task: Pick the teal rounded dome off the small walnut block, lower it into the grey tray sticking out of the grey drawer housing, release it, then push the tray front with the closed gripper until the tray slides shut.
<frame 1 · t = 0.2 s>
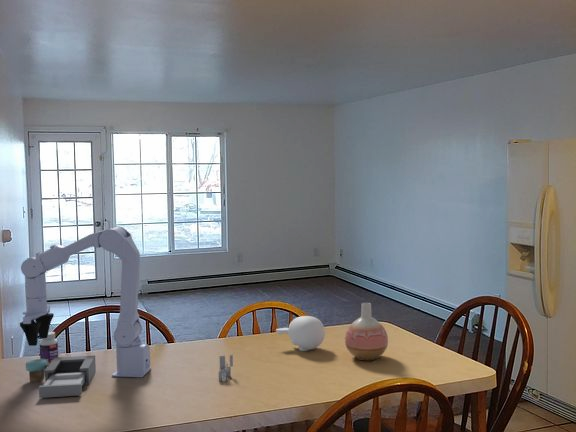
hand: (38, 341, 183), 10 cm above the table, fingers open, 7 cm apart
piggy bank: (303, 347, 208), on the table
pill bottle: (49, 363, 194), on the table
grey drawer housing: (71, 379, 179), on the table
architectural model: (242, 382, 177), on the table
vase: (366, 358, 196), on the table
stand: (37, 379, 179), on the table
tray: (64, 383, 170), point 2 cm above the table, slide at 8.0 cm
teal rounded dome: (36, 368, 179), point 3 cm above the table, touching stand
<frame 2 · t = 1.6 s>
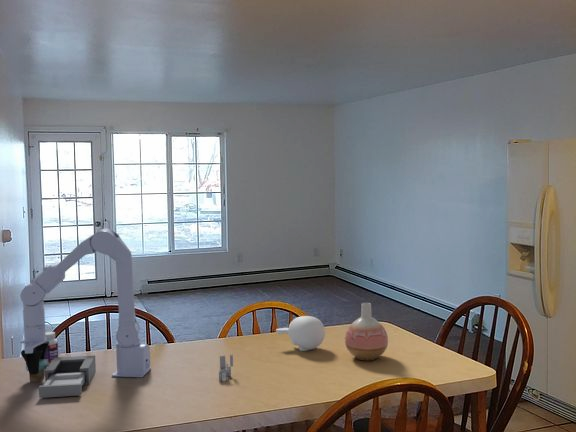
hand: (36, 370, 179), 3 cm above the table, fingers closed on teal rounded dome, 6 cm apart
teal rounded dome: (36, 368, 179), point 4 cm above the table, touching gripper, stand
everything else where it was.
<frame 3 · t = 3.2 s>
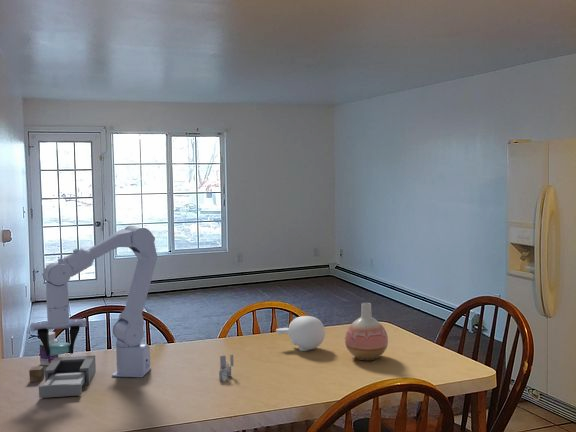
hand: (60, 353, 171), 10 cm above the table, fingers closed on teal rounded dome, 6 cm apart
teal rounded dome: (59, 351, 171), point 10 cm above the table, touching gripper
everything else where it was.
when the fingers open (3 cm above the table, at t = 5.2 s): teal rounded dome drops 2 cm, resting on tray.
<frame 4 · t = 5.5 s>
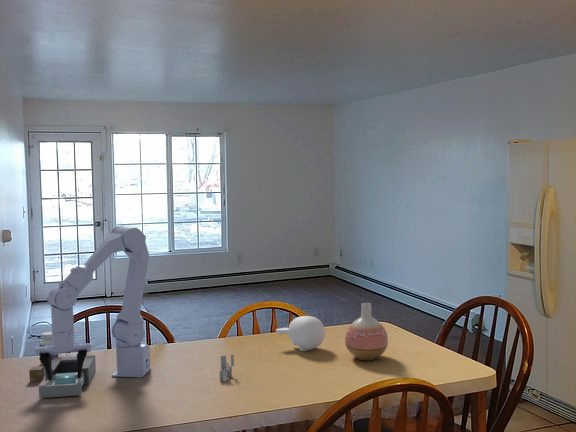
hand: (65, 378, 171), 3 cm above the table, fingers open, 7 cm apart
tray: (64, 383, 170), point 2 cm above the table, slide at 8.0 cm, touching teal rounded dome
teal rounded dome: (65, 382, 171), point 2 cm above the table, touching tray
everything else where it was.
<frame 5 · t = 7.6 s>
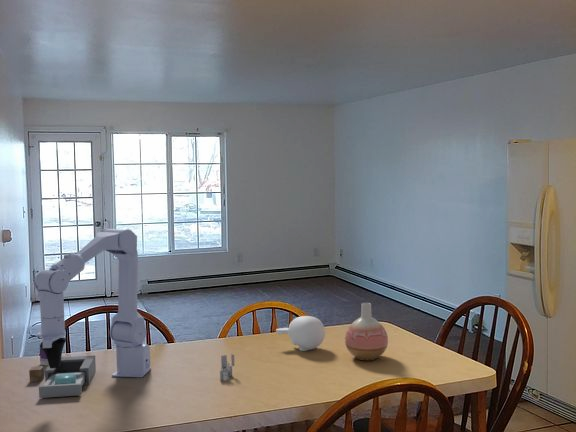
hand: (54, 367, 159), 10 cm above the table, fingers closed
nothing on the table moved.
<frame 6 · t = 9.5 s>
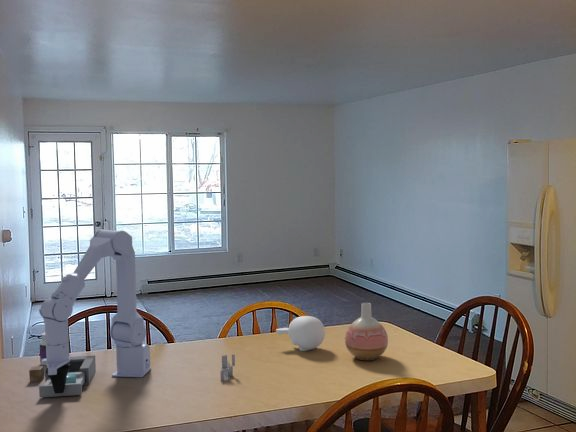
hand: (59, 392, 164), 2 cm above the table, fingers closed
tray: (65, 382, 171), point 2 cm above the table, slide at 7.6 cm, touching teal rounded dome, gripper
everything else where it was.
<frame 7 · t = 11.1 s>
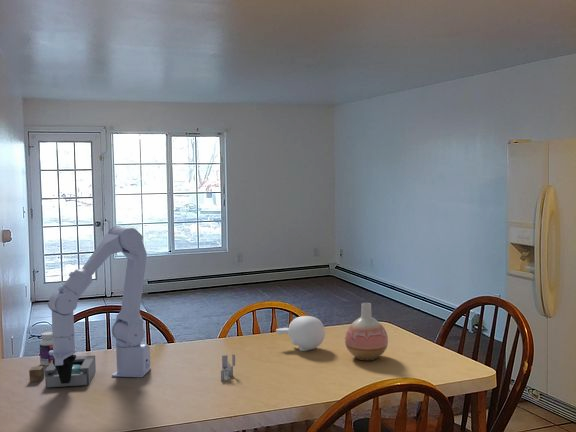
hand: (65, 382, 171), 2 cm above the table, fingers closed
tray: (70, 373, 178), point 2 cm above the table, slide at 0.1 cm, touching teal rounded dome, gripper
teal rounded dome: (71, 373, 179), point 2 cm above the table, touching tray
everything else where it was.
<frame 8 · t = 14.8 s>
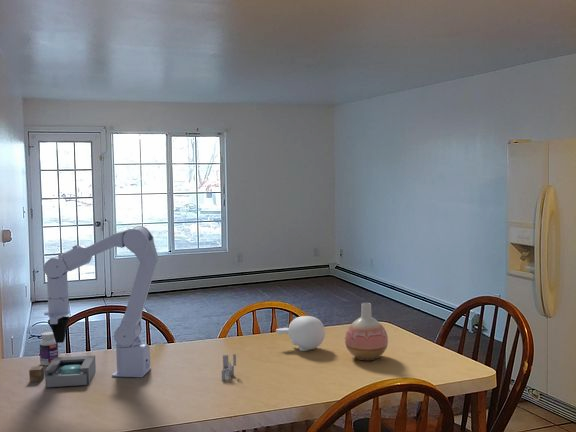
hand: (60, 342, 182), 10 cm above the table, fingers closed
tray: (70, 373, 178), point 2 cm above the table, slide at 0.0 cm, touching teal rounded dome
at the end: tray slide at 0.0 cm; teal rounded dome inside the target area on the grey drawer housing (0.2 cm from its centre), point 1.8 cm above the grey drawer housing's base; the gripper is holding nothing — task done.
